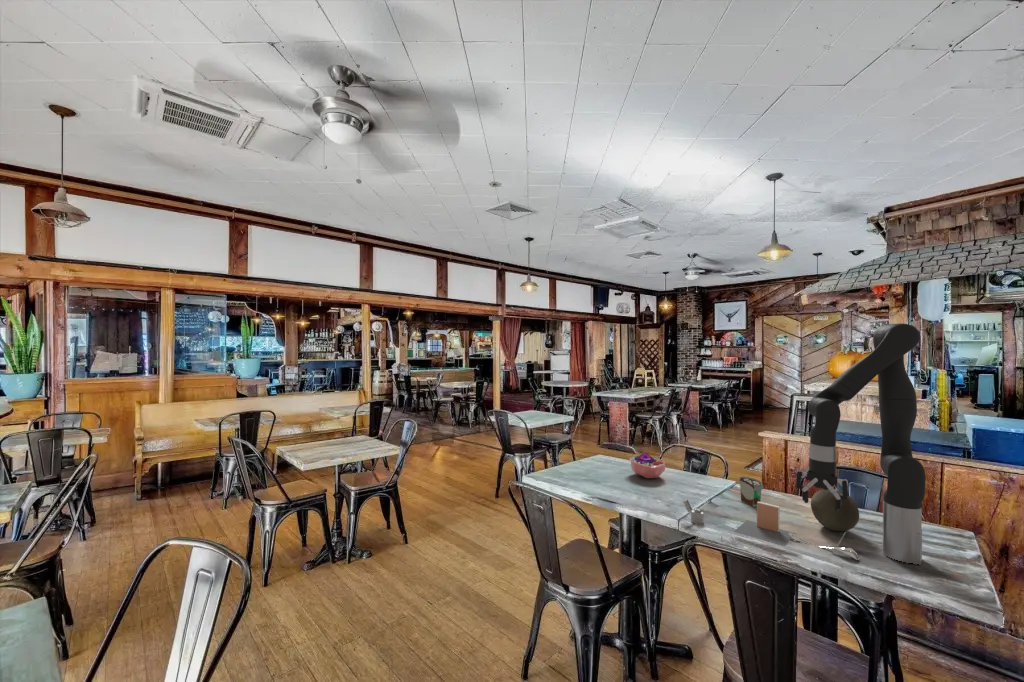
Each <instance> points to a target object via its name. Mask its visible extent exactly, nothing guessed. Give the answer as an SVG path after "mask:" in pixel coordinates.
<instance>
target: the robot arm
mask: <svg viewBox="0 0 1024 682" xmlns="http://www.w3.org/2000/svg"><path fill="white" fill-rule="evenodd" d="M920 339H921V334H920V331H919V329H918V328H916V327H915V326H914V325H911V324H910V323H887V324H883V325H880V326H879V327H878V328H876V330H875V331H874V333H873V338H872V342H873V351H871V352H870V353H869V354H867V355H866V356H865V357H863V358H862V359H861V360H859V361H857V362H856V363H854V364H853V365H851V366H850V367H848V368H847V369H846V370H845V371H843V372H842V373H841V374H840V375H839V376H838V377H837V378H836V379H835V380H834V381H833V382H832V383H831V385H829V386H828V387H826V388H824V389H823V390H822V391H821V390H820V391H819V393H817V394H816V395H814V396H813V397H812V398H811V399H810V400H809V402H808V404H807V411H808V413H809V414H810V415H812V417H814V418H815V423H814V426H812V427H811V429H810V431H809V434H810V436H809V441H810V442H809V447H808V472H806V471H804V470H798V471H797V474H796V482H795V489H799V490H801V493H802V496H801V497H802V498H801V499H802V501H804V503H805V504H809V492H810V491H809V489H810V488H812V487H813V486H814V487H815V488H817V489H821V490H822V489H825V490H827V489H829V490H830V491H831V493H832V494H833V495H834V496H835V497H836V499H835V510H837V511H838V510H839V509H841V507H842V499H847V498H848V497H849V496H850V491H849V490H850V489H849V480H848V479H847V478H845V479H842V478H838V477H837V456H838V455H837V448H836V447H837V444H836V443H837V430H838V429H839V424H840V421H841V409H840V406H839V405H840V404H841V403H843V402H849V401H850V400H852V399H853V398H855V396H857V395H858V394H859V392H861V391H862V390H863V389H864V387H866V386H867V385H868V384H869V383H870V382H871V381H872V380H873V379H874V378H875V377H877V380H878V381H877V383H878V384H877V385H878V408H879V409H878V411H879V419H880V420H879V421H880V431H881V449H880V459H879V461H880V463H879V464H880V468H881V470H882V471H883V473H884V474H885V475H886V476H887V486H886V487H887V488H886V490H885V491H884V492H883V494H882V496H883V497H882V501H883V502H882V553H883V554H885V555H884V556H886V557H887V556H888V557H887V558H889V557H890V558H889V559H891V558H893V559H892V560H894V559H895V560H894V561H896V560H898V561H897V562H899V561H902V562H901V563H903V562H906V563H905V564H908V563H913V564H912V565H917V564H919V565H918V566H922V562H923V561H922V560H923V530H922V526H923V525H922V524H923V523H922V517H923V516H922V515H923V513H922V511H923V510H922V508H923V507H922V506H923V501H924V500H925V495H926V470H925V467H924V466H923V464H922V463H921V462H920V461H919V460H918V459H916V458H914V457H913V452H912V444H911V436H912V432H913V429H914V426H915V424H916V419H917V417H918V416H917V415H918V402H917V394H916V393H917V392H916V390H915V387H914V385H913V382H912V380H911V379H910V377H909V375H908V373H907V369H906V368H905V367H906V366H905V360H904V358H905V357H904V356H905V355H906V354H908V353H909V352H910V351H912V350H913V349H915V348H916V346H918V345H919V342H920ZM805 477H806V478H807V479H808V480H809V482H808V483H807V484H806V485H805V486H804V485H803V479H804V478H805ZM837 483H838V484H839V485H840V487H842V488H841V491H842V492H843V494H840V493H839V491H838V490H839V489H838V488H837V486H836V484H837Z"/></svg>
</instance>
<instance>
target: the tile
mask: <svg viewBox="0 0 1024 682" xmlns="http://www.w3.org/2000/svg"><path fill="white" fill-rule="evenodd" d="M756 523H757V527H761V528H764V529H768V530H771V531H775V532H779V529H780V506H779V505H775V504H771V503H766V502H763V501H760V502H759V501H758V502H757V507H756Z"/></svg>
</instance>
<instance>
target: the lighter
mask: <svg viewBox="0 0 1024 682" xmlns="http://www.w3.org/2000/svg"><path fill="white" fill-rule="evenodd" d="M682 502H683V504H684V507H685V509H686V511H687V512H688V513H689V512H691V514H690V516H691V517H690V520H691V521H690V523H691V524H695V525H698V524H701V525H704V522H705V521H704V520H705V519H704V518H705V517H704V515H705V514H704V511H702V510H701V509H699V508H694V509H692V505H691V504H690V501H689V500H688V499H685V500H682Z"/></svg>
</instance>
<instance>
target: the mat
mask: <svg viewBox="0 0 1024 682" xmlns="http://www.w3.org/2000/svg"><path fill="white" fill-rule="evenodd" d="M734 532H735V533H740V534H743V535H746V536H749V537H752V538H755V539H758V540H762V541H766V542H770V543H772V544H776V545H779V546H781V547H782V546H783V547H786V545H787V544H789V542H790V541H791V539H792V538H791V537H790V536H789V535H788V533H792V534H795V535H796V533H795V532H792V531H789V530H785V529H782V528H779V532H775V531H771V530H768V529H764V528H761V527H757V521H752V520H749V519H747V520H745V521H744V522H742V524H740V525H739V526H738V527H737V528H736V529H735V530H734ZM792 536H793V535H792ZM793 537H794V536H793Z"/></svg>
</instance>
